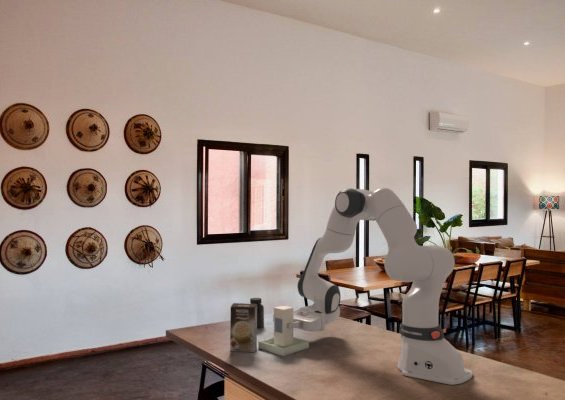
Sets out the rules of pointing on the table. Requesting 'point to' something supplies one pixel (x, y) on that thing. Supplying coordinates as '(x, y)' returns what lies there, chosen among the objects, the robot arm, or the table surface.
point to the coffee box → (243, 327)
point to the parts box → (283, 325)
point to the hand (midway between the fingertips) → (281, 324)
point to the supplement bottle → (259, 311)
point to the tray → (283, 350)
